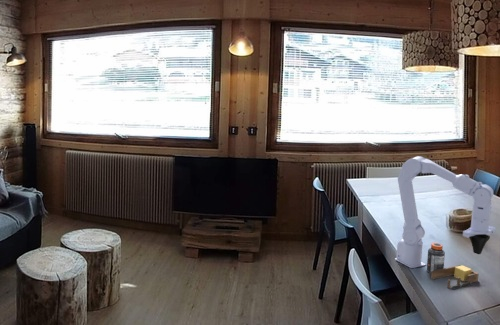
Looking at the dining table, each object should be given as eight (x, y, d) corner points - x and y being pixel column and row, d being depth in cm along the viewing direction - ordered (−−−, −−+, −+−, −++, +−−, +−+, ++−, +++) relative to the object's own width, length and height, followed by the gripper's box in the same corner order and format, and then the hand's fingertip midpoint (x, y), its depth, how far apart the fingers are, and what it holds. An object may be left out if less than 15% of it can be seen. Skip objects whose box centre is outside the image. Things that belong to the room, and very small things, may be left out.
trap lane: (430, 278, 145) (431, 271, 145) (459, 272, 151) (459, 265, 150) (451, 289, 137) (451, 281, 136) (480, 282, 142) (481, 274, 142)
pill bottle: (427, 267, 155) (429, 240, 153) (443, 270, 152) (446, 243, 150) (425, 272, 150) (427, 245, 148) (442, 276, 147) (444, 248, 145)
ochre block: (454, 276, 147) (455, 267, 146) (461, 275, 149) (462, 265, 148) (463, 281, 143) (464, 271, 143) (470, 279, 145) (471, 269, 144)
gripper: (476, 223, 134) (473, 260, 137) (504, 218, 140) (500, 254, 142) (459, 217, 141) (455, 253, 143) (486, 213, 146) (483, 247, 148)
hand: (477, 253), depth 143 cm, fingers closed
